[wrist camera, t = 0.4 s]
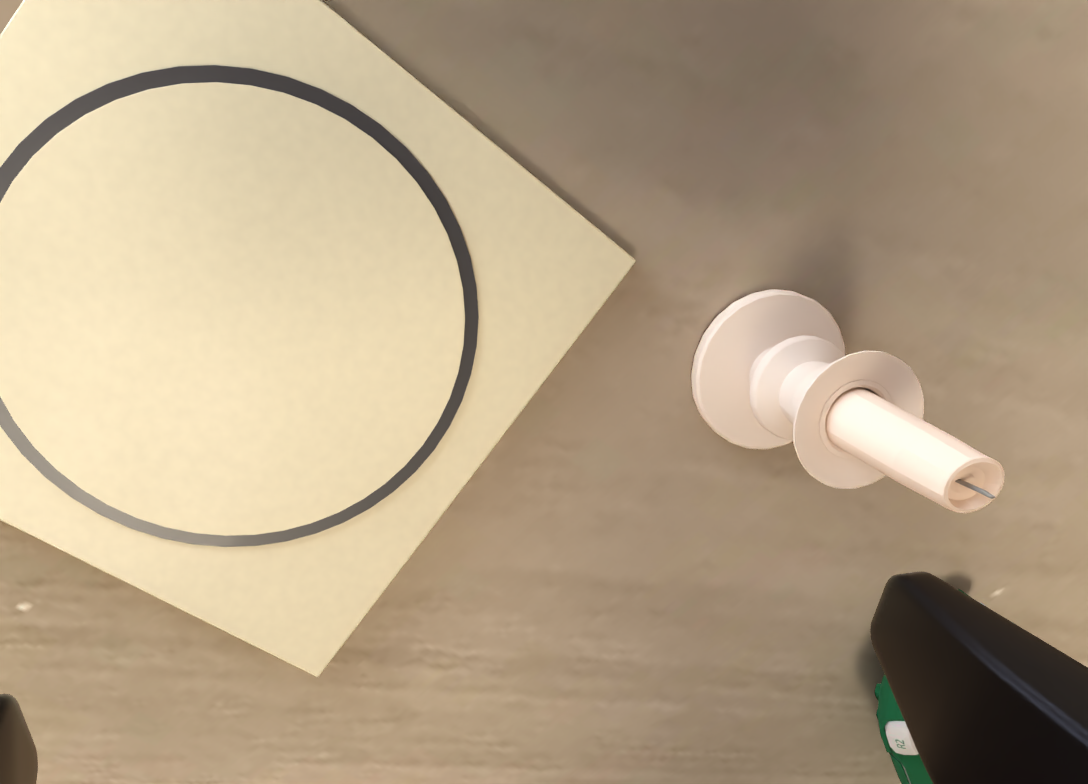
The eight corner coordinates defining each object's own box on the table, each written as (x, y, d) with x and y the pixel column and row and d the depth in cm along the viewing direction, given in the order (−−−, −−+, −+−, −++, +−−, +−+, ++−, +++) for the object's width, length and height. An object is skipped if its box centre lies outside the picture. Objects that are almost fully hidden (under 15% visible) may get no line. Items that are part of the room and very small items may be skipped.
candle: (784, 467, 30) (1008, 635, 20) (660, 406, 28) (842, 557, 19) (866, 332, 29) (1138, 438, 20) (744, 259, 27) (978, 337, 18)
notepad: (318, 667, 28) (318, 682, 27) (-231, 392, 22) (-249, 402, 21) (630, 258, 27) (639, 261, 26) (133, -151, 21) (126, -162, 20)
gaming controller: (878, 583, 35) (845, 706, 30) (984, 582, 32) (964, 715, 28) (942, 742, 38) (920, 873, 34) (1041, 752, 36) (1031, 894, 32)
